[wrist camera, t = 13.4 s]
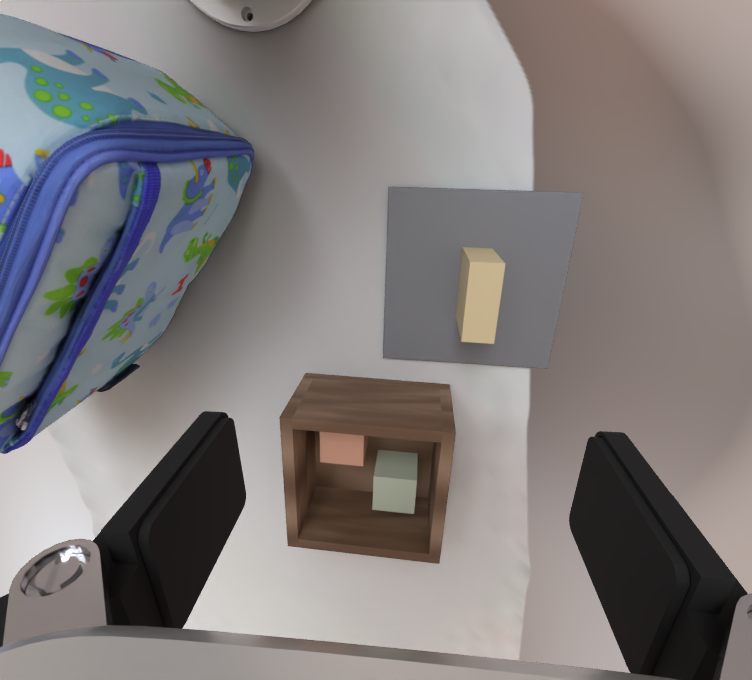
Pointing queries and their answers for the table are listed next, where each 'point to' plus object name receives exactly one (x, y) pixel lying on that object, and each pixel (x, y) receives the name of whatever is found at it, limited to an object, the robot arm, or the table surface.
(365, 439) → the terracotta block
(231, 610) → the table surface
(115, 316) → the lunch box
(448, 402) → the walnut box
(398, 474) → the sage block
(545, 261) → the lid
